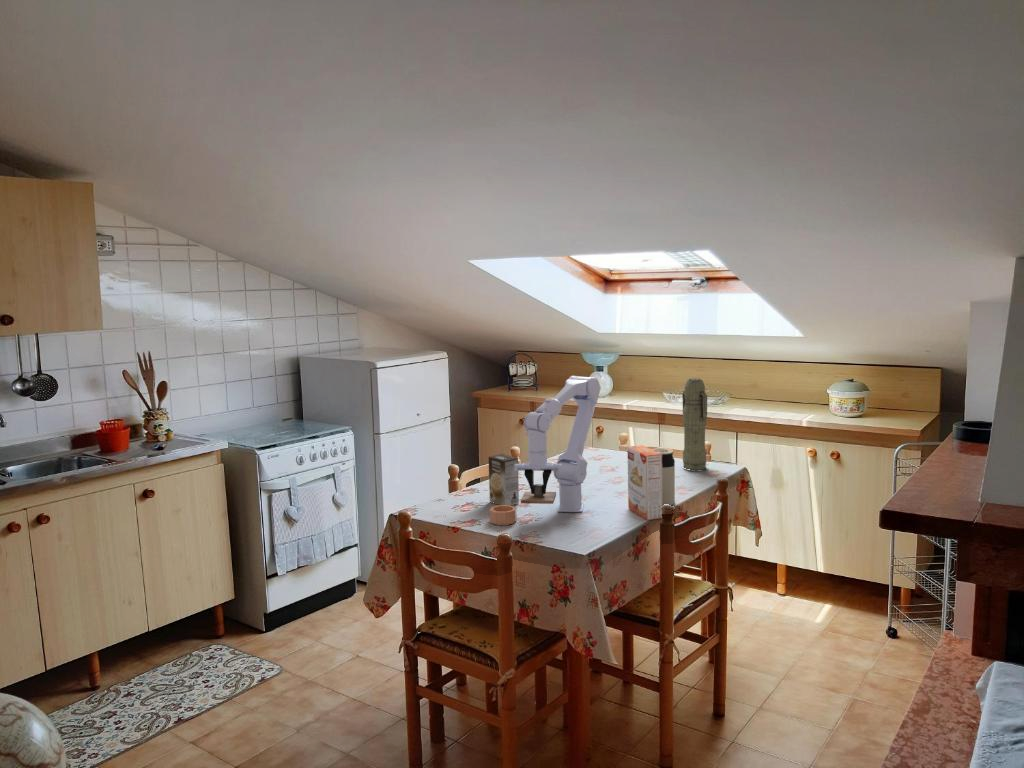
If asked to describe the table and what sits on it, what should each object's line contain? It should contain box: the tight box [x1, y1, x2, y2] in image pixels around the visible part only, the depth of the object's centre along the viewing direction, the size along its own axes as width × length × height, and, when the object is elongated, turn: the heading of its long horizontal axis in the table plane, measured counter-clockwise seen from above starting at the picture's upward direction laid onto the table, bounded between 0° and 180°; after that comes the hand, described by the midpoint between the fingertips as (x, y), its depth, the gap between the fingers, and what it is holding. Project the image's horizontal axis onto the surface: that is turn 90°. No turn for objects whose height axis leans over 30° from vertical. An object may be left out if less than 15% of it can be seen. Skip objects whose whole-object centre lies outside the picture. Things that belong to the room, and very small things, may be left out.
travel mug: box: [651, 447, 676, 506], centre depth 269 cm, size 8×8×18 cm
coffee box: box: [488, 453, 520, 506], centre depth 275 cm, size 9×6×16 cm
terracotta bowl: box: [489, 505, 518, 526], centre depth 255 cm, size 8×8×4 cm
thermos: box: [682, 378, 708, 471], centre depth 314 cm, size 9×12×35 cm
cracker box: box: [626, 445, 664, 521], centre depth 258 cm, size 14×6×21 cm, turn 16°
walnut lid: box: [520, 483, 557, 505], centre depth 254 cm, size 10×10×4 cm
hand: (538, 493), depth 254 cm, fingers closed on walnut lid, 3 cm apart
